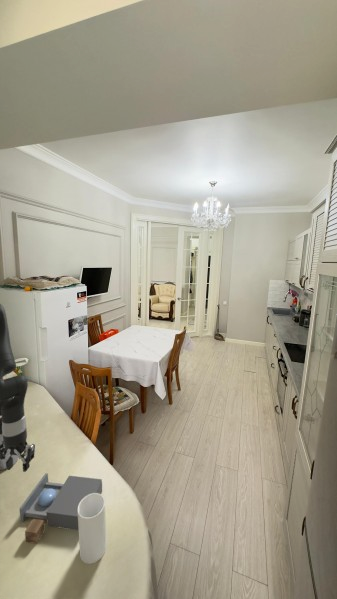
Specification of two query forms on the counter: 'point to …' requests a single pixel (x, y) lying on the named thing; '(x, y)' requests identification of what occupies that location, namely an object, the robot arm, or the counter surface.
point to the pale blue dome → (46, 498)
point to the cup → (92, 527)
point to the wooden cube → (34, 531)
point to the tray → (31, 503)
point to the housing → (71, 501)
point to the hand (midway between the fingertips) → (18, 468)
